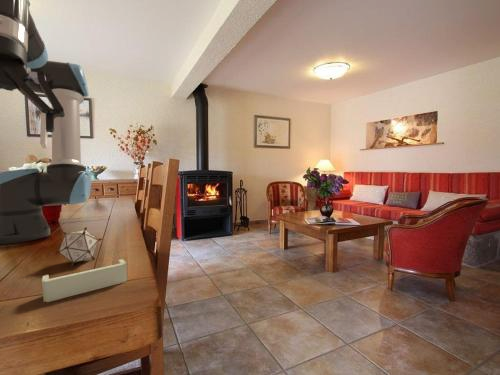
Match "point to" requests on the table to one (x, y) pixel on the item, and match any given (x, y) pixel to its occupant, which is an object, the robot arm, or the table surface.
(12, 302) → the table surface
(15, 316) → the table surface
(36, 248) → the table surface
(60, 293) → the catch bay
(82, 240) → the game die
